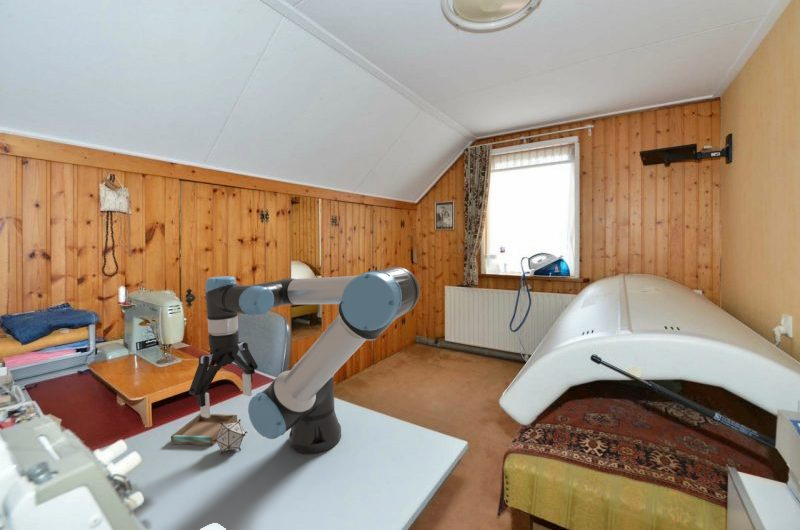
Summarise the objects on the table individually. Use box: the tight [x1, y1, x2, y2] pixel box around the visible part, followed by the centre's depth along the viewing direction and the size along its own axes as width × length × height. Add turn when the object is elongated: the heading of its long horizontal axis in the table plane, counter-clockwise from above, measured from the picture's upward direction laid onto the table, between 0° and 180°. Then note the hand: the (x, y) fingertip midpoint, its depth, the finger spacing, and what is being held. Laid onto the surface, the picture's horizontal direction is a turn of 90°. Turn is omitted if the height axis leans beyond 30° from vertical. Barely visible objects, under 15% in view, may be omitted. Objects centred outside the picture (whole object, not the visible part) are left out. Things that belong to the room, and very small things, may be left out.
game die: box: [213, 418, 248, 455], centre depth 100 cm, size 9×8×10 cm
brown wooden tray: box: [170, 413, 238, 446], centre depth 109 cm, size 13×13×2 cm
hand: (227, 405), depth 99 cm, fingers open, 13 cm apart
